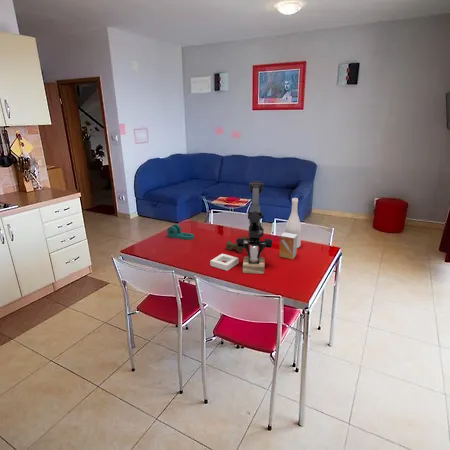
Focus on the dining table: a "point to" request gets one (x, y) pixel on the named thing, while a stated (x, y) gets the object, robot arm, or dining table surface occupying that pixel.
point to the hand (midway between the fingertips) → (253, 258)
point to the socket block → (253, 266)
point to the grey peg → (253, 254)
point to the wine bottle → (294, 222)
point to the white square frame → (219, 264)
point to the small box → (288, 245)
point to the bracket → (178, 233)
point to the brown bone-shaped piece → (235, 245)
